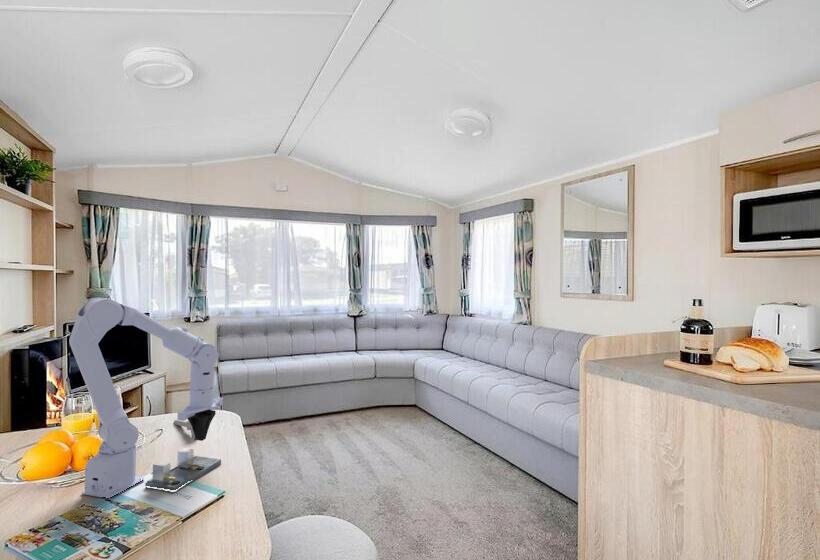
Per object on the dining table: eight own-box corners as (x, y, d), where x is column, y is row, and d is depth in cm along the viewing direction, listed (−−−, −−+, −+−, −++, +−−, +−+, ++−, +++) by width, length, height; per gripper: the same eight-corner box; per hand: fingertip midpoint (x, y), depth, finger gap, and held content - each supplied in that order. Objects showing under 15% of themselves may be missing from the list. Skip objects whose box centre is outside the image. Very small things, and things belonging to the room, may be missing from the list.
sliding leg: (195, 469, 107) (196, 453, 107) (177, 467, 109) (177, 451, 109) (201, 466, 109) (201, 450, 109) (183, 463, 111) (183, 448, 111)
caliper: (198, 439, 131) (198, 419, 131) (194, 440, 130) (194, 419, 130) (176, 422, 146) (177, 404, 146) (173, 423, 145) (173, 404, 145)
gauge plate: (174, 492, 99) (174, 470, 99) (145, 488, 101) (145, 465, 101) (221, 464, 114) (221, 444, 114) (195, 460, 116) (195, 440, 116)
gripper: (195, 396, 106) (193, 451, 106) (232, 383, 120) (231, 432, 120) (171, 393, 108) (169, 448, 108) (211, 381, 122) (209, 429, 122)
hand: (200, 439), depth 114 cm, fingers closed
